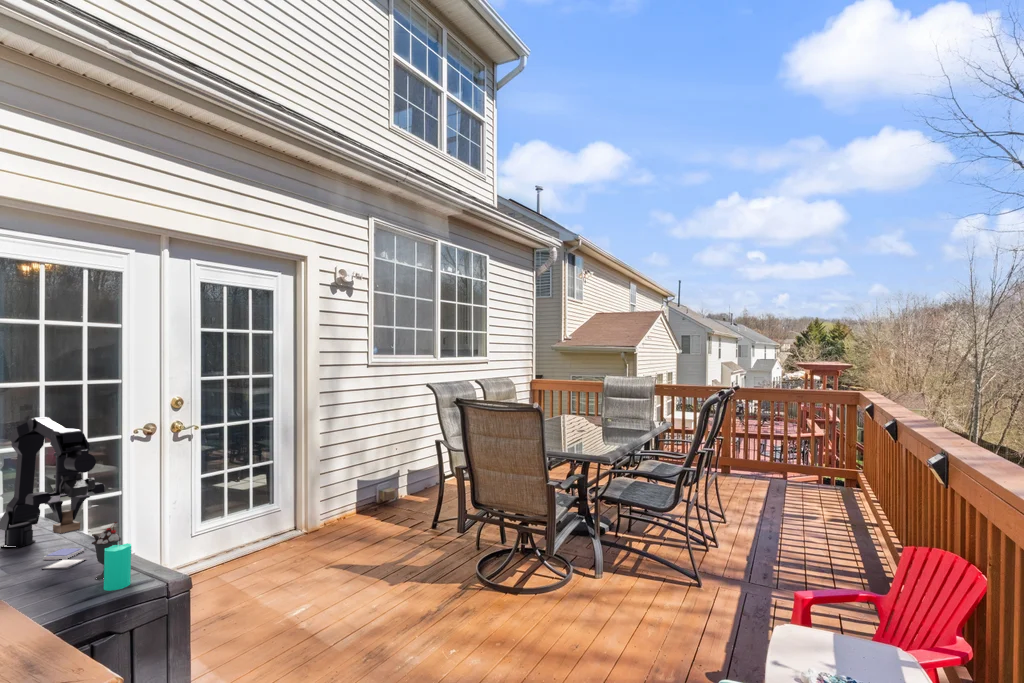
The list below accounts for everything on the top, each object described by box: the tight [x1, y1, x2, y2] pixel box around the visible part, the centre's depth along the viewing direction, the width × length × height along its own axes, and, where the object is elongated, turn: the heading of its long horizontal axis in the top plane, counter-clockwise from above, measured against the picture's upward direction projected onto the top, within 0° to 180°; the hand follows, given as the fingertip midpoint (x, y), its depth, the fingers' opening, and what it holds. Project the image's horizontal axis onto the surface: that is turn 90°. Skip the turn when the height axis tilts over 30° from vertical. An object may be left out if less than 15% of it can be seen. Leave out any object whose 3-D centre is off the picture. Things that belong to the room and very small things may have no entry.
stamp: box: [52, 509, 81, 535], centre depth 166 cm, size 5×5×6 cm
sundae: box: [91, 521, 122, 579], centre depth 152 cm, size 7×7×15 cm
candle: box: [103, 541, 132, 592], centre depth 145 cm, size 6×6×12 cm
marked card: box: [40, 558, 87, 570], centre depth 161 cm, size 8×8×1 cm
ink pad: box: [43, 547, 85, 561], centre depth 169 cm, size 7×7×1 cm
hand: (66, 521), depth 166 cm, fingers closed on stamp, 3 cm apart
